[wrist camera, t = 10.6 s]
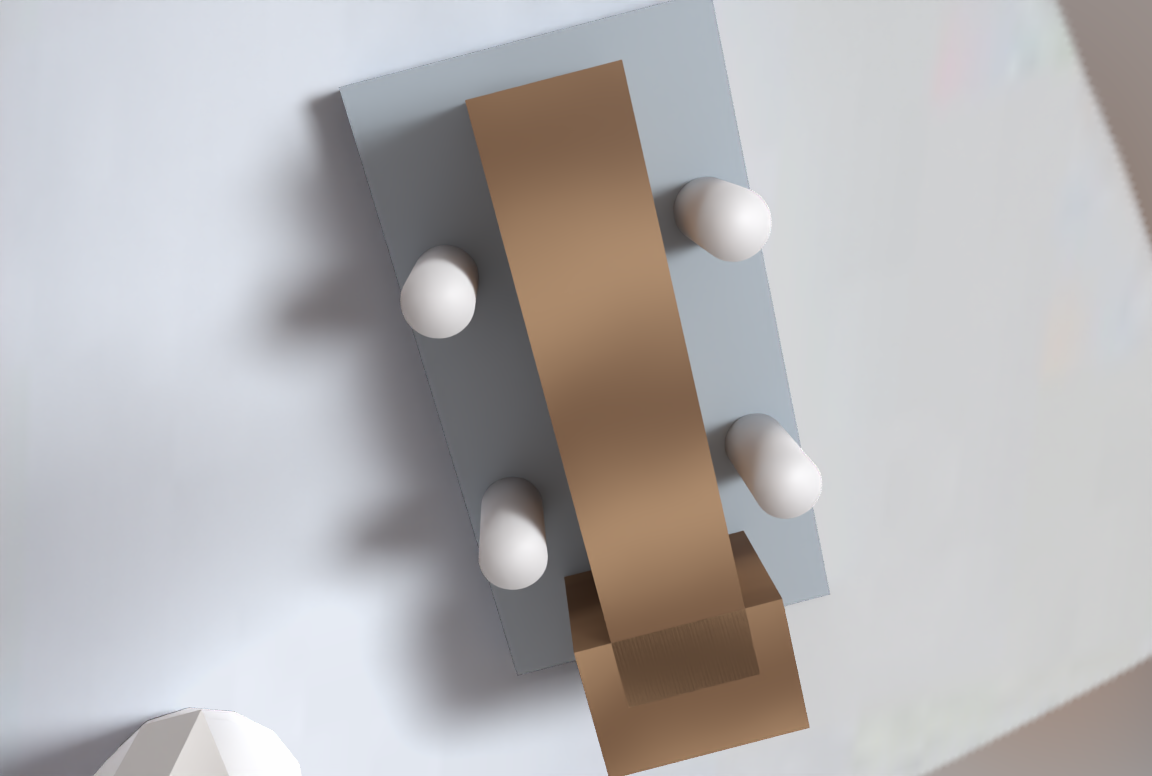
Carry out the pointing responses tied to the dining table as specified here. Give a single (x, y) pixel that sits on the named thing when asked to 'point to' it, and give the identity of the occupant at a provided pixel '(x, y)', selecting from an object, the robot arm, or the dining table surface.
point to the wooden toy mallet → (631, 436)
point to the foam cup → (231, 746)
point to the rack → (498, 332)
